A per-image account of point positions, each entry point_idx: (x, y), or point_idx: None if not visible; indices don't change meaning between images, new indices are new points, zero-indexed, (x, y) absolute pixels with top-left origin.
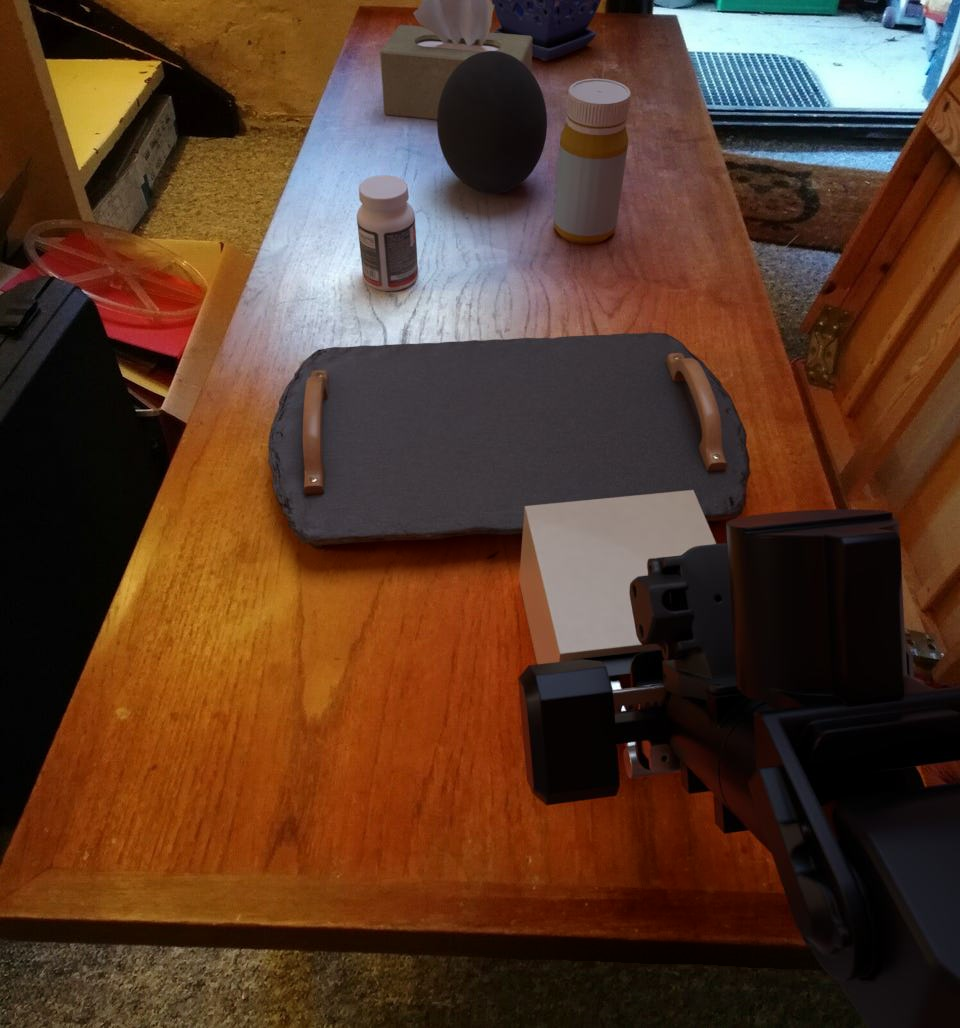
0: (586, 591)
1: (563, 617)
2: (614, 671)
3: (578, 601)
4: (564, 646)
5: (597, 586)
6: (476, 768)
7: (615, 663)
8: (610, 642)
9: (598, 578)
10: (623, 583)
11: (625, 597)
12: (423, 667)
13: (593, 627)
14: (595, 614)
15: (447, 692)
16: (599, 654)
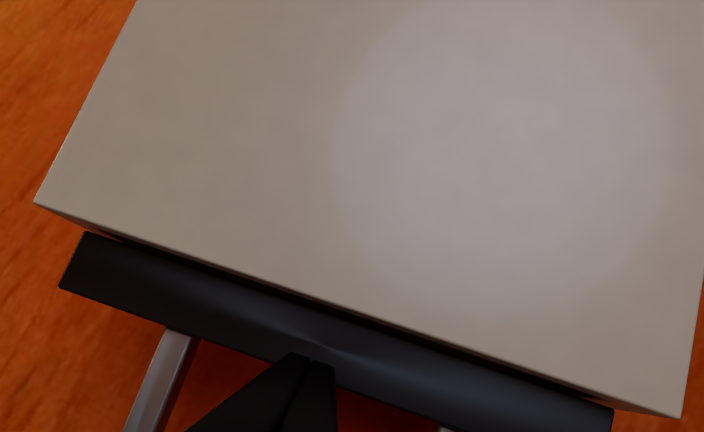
0: (242, 47)
1: (121, 97)
2: (179, 313)
3: (196, 67)
4: (60, 185)
5: (281, 45)
6: (17, 298)
7: (197, 291)
8: (190, 233)
9: (301, 22)
10: (361, 66)
11: (336, 111)
12: (55, 81)
13: (179, 163)
14: (213, 126)
15: (62, 141)
16: (160, 248)
